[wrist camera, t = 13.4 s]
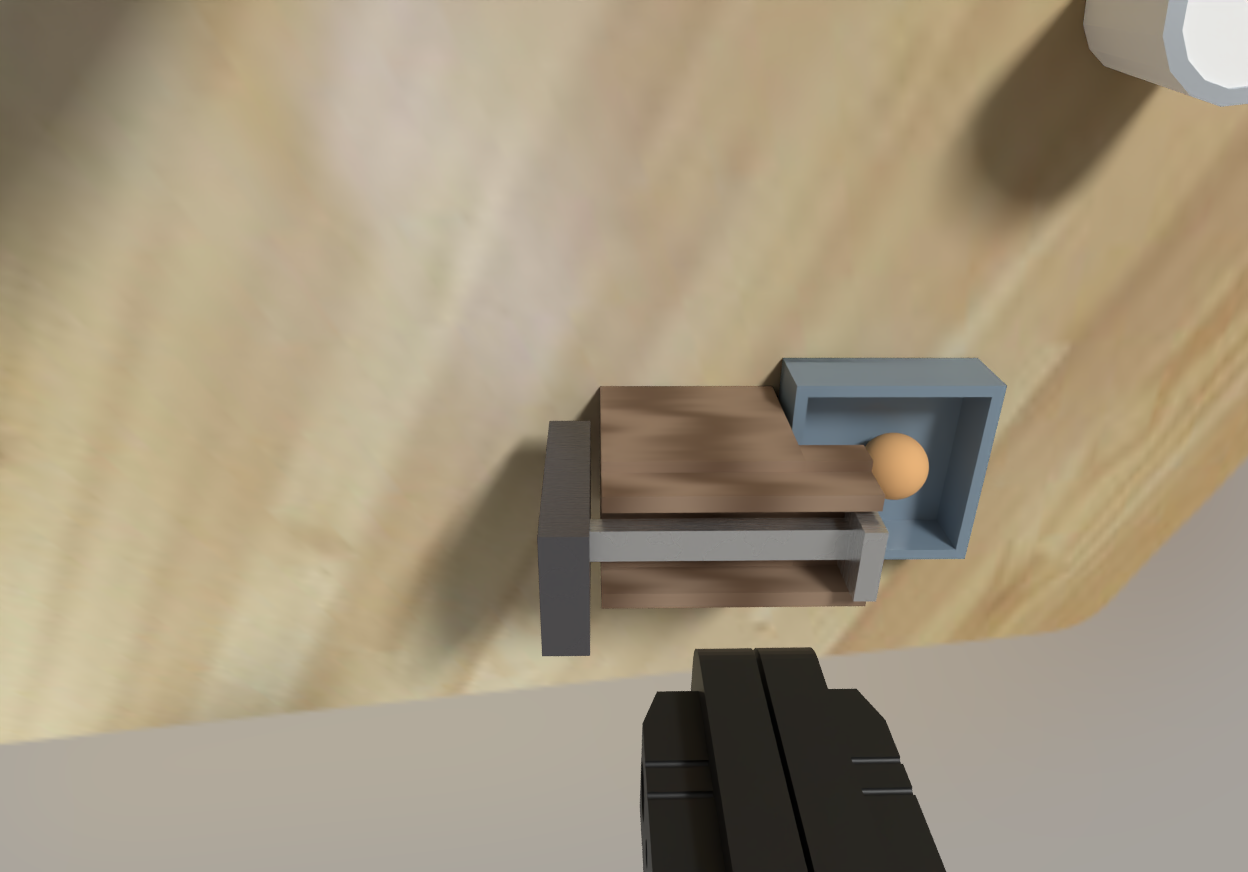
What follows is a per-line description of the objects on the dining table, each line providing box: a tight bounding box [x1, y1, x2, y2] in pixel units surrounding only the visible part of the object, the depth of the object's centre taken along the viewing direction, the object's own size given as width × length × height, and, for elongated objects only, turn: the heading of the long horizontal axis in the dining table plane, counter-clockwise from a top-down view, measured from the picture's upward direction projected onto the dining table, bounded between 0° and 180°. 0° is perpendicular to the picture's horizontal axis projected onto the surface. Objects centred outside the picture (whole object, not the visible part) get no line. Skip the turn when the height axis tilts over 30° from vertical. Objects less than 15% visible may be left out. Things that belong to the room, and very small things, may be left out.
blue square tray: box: [778, 358, 1007, 559], centre depth 44 cm, size 10×10×4 cm
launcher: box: [600, 386, 885, 608], centre depth 41 cm, size 12×7×10 cm, turn 89°
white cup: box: [1083, 0, 1248, 107], centre depth 33 cm, size 7×7×7 cm
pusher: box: [537, 421, 889, 656], centre depth 39 cm, size 14×6×10 cm, turn 89°
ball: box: [865, 433, 929, 500], centre depth 44 cm, size 4×4×4 cm
